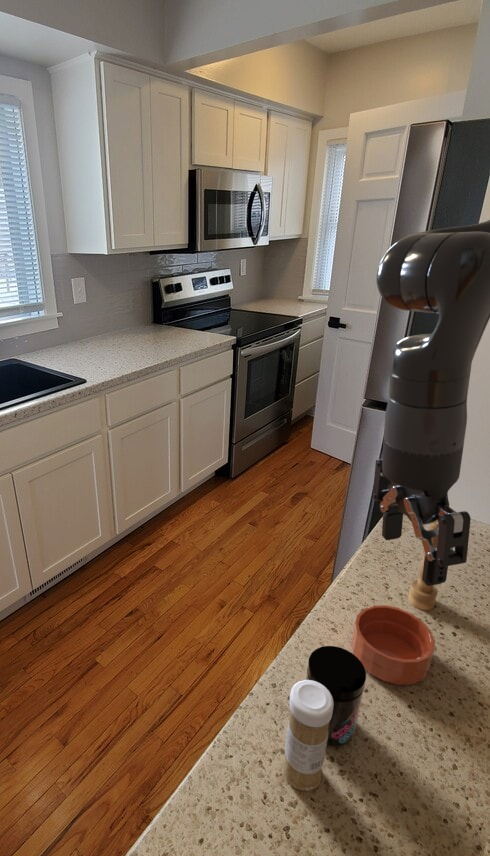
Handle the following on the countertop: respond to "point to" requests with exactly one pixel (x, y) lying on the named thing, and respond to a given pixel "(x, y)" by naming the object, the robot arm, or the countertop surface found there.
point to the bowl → (393, 644)
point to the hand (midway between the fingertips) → (410, 558)
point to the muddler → (424, 585)
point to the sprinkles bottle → (307, 734)
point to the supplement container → (339, 689)
